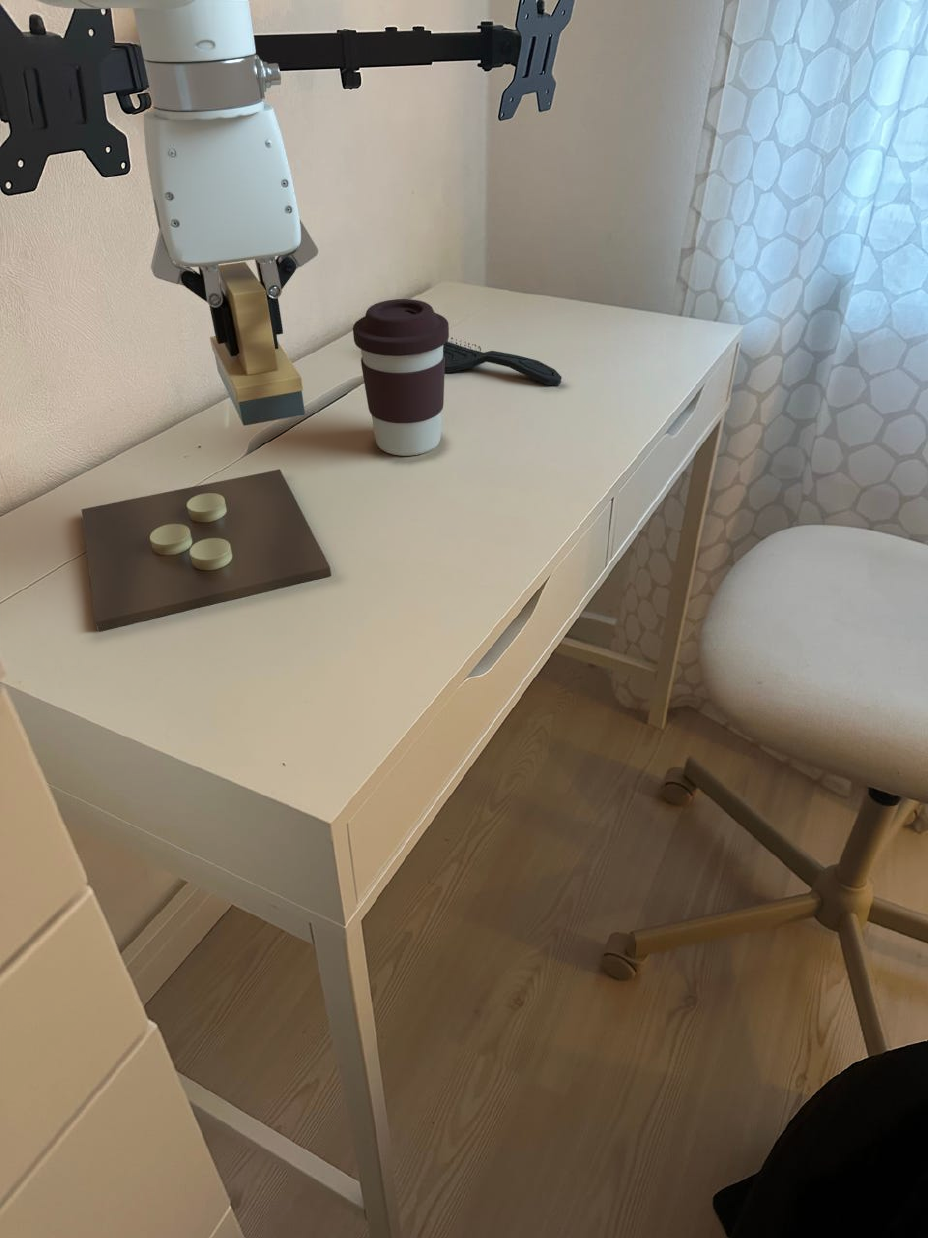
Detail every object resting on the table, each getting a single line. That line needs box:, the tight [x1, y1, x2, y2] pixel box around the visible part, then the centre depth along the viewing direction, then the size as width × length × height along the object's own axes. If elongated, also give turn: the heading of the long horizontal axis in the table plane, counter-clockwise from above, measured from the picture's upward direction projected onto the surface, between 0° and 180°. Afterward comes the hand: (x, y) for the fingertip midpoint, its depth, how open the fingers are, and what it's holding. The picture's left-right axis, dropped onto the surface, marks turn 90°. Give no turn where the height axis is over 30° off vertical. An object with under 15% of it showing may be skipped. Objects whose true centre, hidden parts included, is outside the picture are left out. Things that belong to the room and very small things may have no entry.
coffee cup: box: [352, 298, 450, 457], centre depth 96 cm, size 10×10×15 cm
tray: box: [81, 468, 332, 632], centre depth 84 cm, size 20×20×1 cm
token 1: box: [150, 524, 192, 555], centre depth 82 cm, size 4×4×1 cm
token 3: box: [189, 538, 232, 570], centre depth 80 cm, size 4×4×1 cm
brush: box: [209, 261, 306, 427], centre depth 73 cm, size 5×12×10 cm, turn 22°
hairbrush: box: [443, 337, 563, 387], centre depth 116 cm, size 8×4×25 cm
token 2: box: [187, 493, 227, 522], centre depth 87 cm, size 4×4×1 cm
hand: (251, 345), depth 73 cm, fingers closed on brush, 2 cm apart
